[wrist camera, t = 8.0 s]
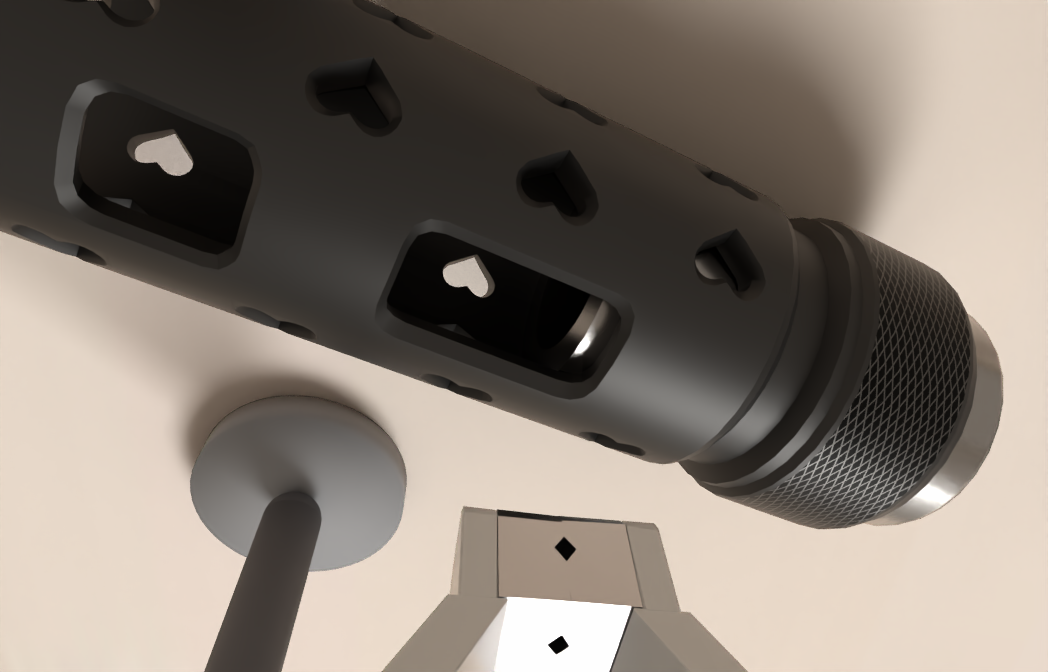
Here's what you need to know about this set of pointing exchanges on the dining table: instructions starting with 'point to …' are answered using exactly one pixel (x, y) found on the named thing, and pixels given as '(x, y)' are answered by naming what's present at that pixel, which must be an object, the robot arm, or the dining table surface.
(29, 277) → the dining table surface
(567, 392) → the muzzle brake
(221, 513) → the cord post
